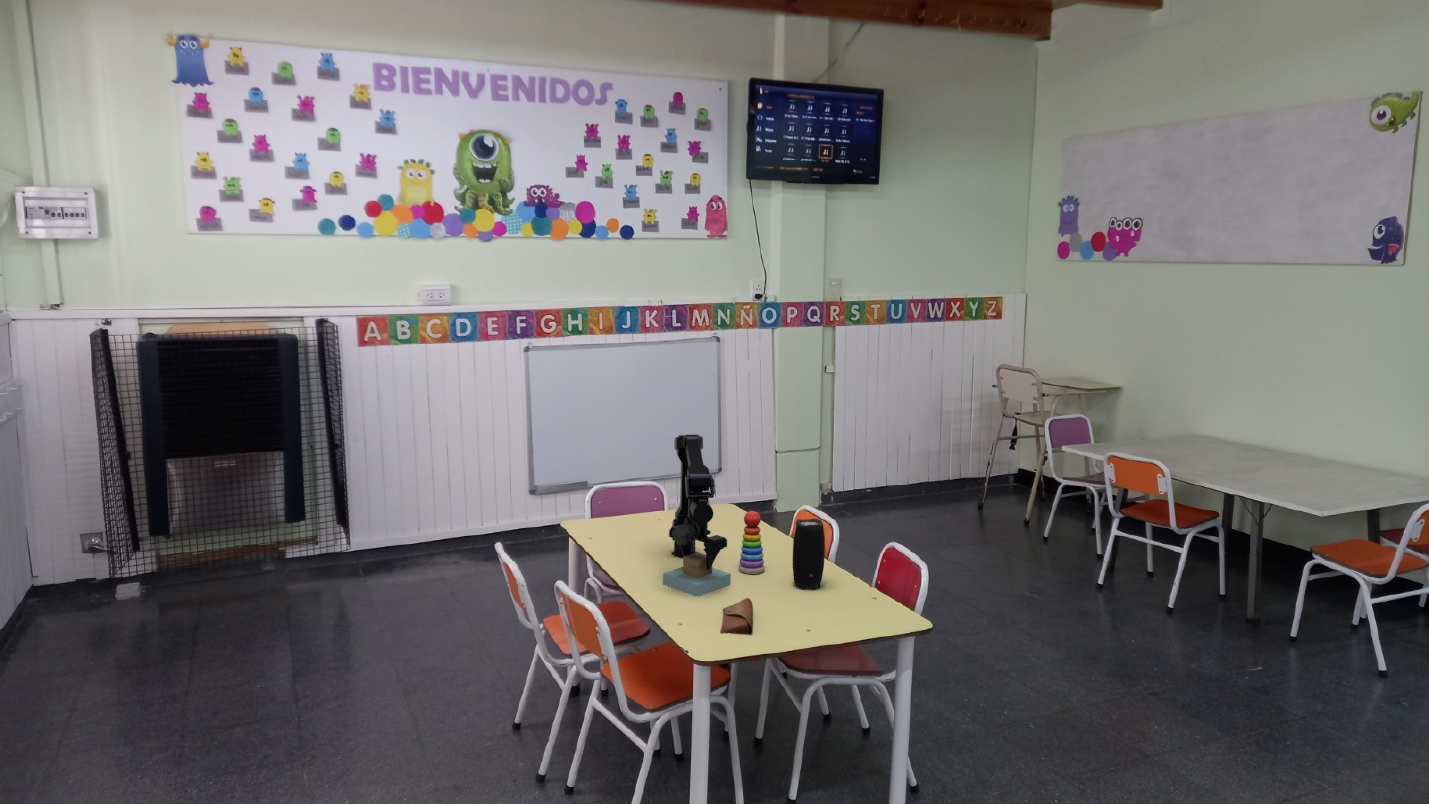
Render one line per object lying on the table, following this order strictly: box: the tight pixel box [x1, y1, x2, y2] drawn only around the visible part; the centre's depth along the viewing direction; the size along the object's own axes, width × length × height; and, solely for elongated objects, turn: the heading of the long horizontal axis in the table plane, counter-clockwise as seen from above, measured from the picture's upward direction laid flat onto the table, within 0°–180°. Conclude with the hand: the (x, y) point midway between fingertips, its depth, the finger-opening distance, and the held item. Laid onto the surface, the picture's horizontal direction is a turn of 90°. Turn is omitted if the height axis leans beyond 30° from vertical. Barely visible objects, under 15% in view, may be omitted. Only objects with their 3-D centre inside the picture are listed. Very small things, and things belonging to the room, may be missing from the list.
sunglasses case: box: [720, 597, 754, 636], centre depth 251 cm, size 18×7×7 cm
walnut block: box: [682, 551, 713, 578], centre depth 277 cm, size 6×6×5 cm
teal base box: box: [662, 566, 732, 597], centre depth 278 cm, size 14×14×4 cm
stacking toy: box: [738, 510, 766, 575], centre depth 290 cm, size 8×8×19 cm
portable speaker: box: [792, 518, 826, 590], centre depth 278 cm, size 9×9×20 cm
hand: (697, 565), depth 277 cm, fingers open, 9 cm apart
